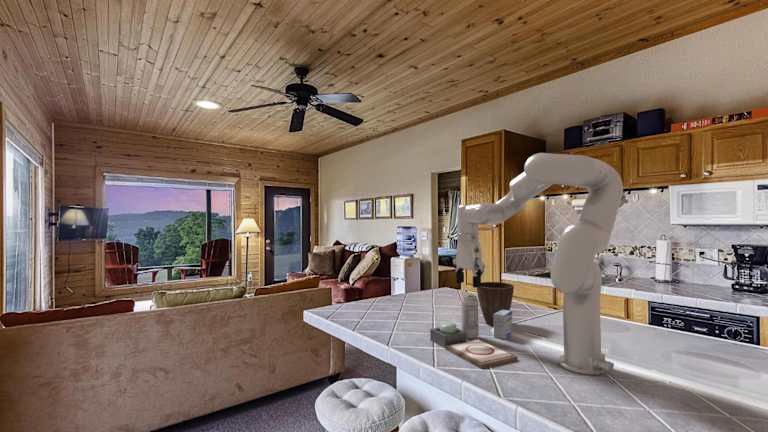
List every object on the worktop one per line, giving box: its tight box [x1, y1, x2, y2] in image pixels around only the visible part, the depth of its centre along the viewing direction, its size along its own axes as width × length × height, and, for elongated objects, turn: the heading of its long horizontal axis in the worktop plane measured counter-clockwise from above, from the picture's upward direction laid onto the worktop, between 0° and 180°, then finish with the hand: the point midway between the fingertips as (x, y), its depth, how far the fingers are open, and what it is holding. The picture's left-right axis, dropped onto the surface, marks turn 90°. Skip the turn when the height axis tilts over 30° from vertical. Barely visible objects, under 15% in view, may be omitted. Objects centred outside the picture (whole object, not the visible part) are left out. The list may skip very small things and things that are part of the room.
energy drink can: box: [460, 294, 480, 340], centre depth 134 cm, size 6×6×15 cm
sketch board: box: [445, 338, 518, 369], centre depth 117 cm, size 18×14×2 cm
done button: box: [439, 322, 457, 334], centre depth 129 cm, size 6×6×3 cm
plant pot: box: [476, 281, 515, 327], centre depth 150 cm, size 15×15×16 cm
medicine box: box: [493, 310, 513, 340], centre depth 135 cm, size 8×4×9 cm, turn 143°
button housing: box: [429, 326, 468, 348], centre depth 129 cm, size 9×9×4 cm
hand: (468, 284), depth 134 cm, fingers open, 9 cm apart
